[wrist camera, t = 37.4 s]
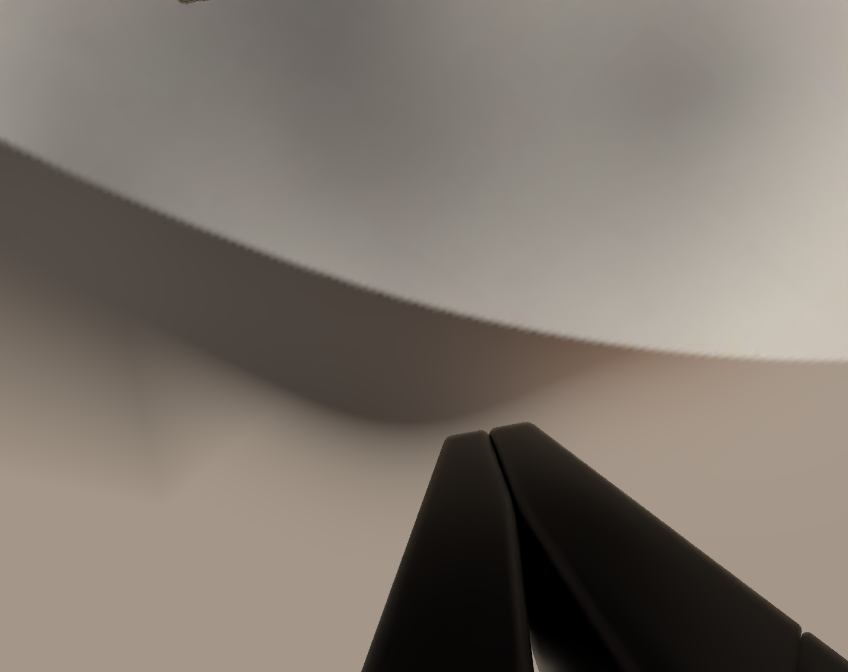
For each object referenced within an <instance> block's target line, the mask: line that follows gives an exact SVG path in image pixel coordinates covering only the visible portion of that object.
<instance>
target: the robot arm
mask: <svg viewBox="0 0 848 672" xmlns="http://www.w3.org/2000/svg"><path fill="white" fill-rule="evenodd" d="M801 632H802V631H801V627H800V626H799V624H797V623H796V622H795V621H794V620H792V619H791V618H790V617H788V616H787V615H786V614H784V613H783V612H782V611H780V610H779V609H778V608H776V607H775V606H774V605H772V604H771V603H770V602H768V601H767V600H766V599H764V598H763V597H761V596H760V595H759V594H758V593H756V592H755V591H754V590H752V589H751V588H750V587H748V586H747V585H746V584H745V583H743V582H742V581H741V580H739V579H738V578H737V577H735V576H734V575H733V574H731V573H730V572H729V571H727V570H726V569H725V568H723V567H722V566H721V565H719V564H718V563H716V562H715V561H714V560H713V559H711V558H710V557H709V556H707V555H706V554H705V553H703V552H702V551H701V550H699V549H698V548H697V547H695V546H694V545H693V544H691V543H690V542H689V541H688V540H686V539H685V538H684V537H682V536H681V535H679V534H678V533H677V532H676V531H674V530H673V529H671V528H670V527H669V526H668V525H666V524H665V523H664V522H662V521H661V520H660V519H658V518H657V517H656V516H654V515H653V514H652V513H650V512H649V511H648V510H646V509H645V508H644V507H642V506H641V505H640V504H638V503H637V502H636V501H635V500H633V499H632V498H631V497H629V496H628V495H627V494H625V493H624V492H623V491H621V490H620V489H619V488H617V487H616V486H615V485H613V484H612V483H611V482H609V481H608V480H607V479H605V478H604V477H603V476H601V475H600V474H599V473H597V472H596V471H595V470H593V469H592V468H591V467H589V466H588V465H587V464H585V463H584V462H583V461H582V460H580V459H579V458H578V457H576V456H575V455H574V454H572V453H571V452H570V451H568V450H567V449H565V448H564V447H563V446H561V445H560V444H559V443H558V442H556V441H555V440H554V439H552V438H551V437H550V436H548V435H547V434H546V433H544V432H543V431H542V430H540V429H539V428H538V427H536V426H535V425H534V424H532V423H529V422H523V423H517V424H512V425H507V426H501V427H496V428H493V429H492V430H491V431H490V434H488V433H487V432H485V431H483V430H479V431H473V432H468V433H462V434H456V435H451V436H449V437H447V438H446V440H445V442H444V444H443V447H442V449H441V452H440V455H439V457H438V460H437V463H436V466H435V469H434V471H433V474H432V477H431V480H430V482H429V485H428V488H427V491H426V494H425V496H424V499H423V502H422V505H421V507H420V510H419V513H418V516H417V519H416V521H415V524H414V527H413V530H412V533H411V535H410V538H409V541H408V544H407V547H406V549H405V552H404V555H403V557H402V561H401V563H400V566H399V569H398V571H397V574H396V577H395V580H394V583H393V585H392V588H391V591H390V593H389V596H388V599H387V602H386V605H385V608H384V610H383V613H382V616H381V619H380V621H379V624H378V627H377V630H376V633H375V635H374V638H373V641H372V643H371V646H370V649H369V652H368V655H367V657H366V660H365V663H364V666H363V669H362V671H361V672H534V668H533V658H532V651H533V655H534V658H535V660H536V664H537V666H538V669H539V672H848V661H847V660H846V659H845V658H843V657H842V656H841V655H839V654H838V653H837V652H835V651H834V650H833V649H831V648H830V647H829V646H827V645H826V644H825V643H823V642H822V641H821V640H819V639H818V638H817V637H815V636H814V635H813V634H811V633H809V632H805V633H803V634H802V636H801ZM531 647H532V650H531Z"/></svg>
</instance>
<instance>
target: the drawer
mask: <svg viewBox="0 0 848 672" xmlns="http://www.w3.org/2000/svg"><path fill="white" fill-rule="evenodd" d="M178 1H179V2H180V3H183V4H188V3H195V2H201V1H207V0H178Z"/></svg>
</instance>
